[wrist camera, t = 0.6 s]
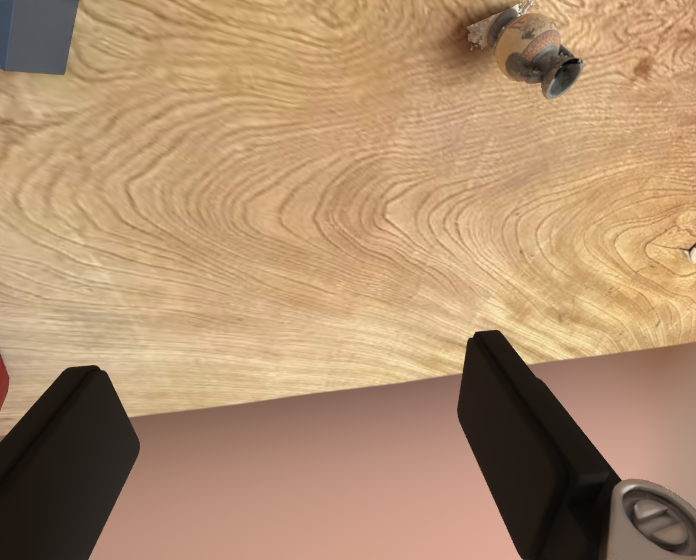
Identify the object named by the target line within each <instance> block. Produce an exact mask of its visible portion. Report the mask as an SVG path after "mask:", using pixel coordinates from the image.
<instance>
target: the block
mask: <svg viewBox="0 0 696 560" xmlns="http://www.w3.org/2000/svg"><path fill="white" fill-rule="evenodd" d="M78 1H79V0H0V69H2V70H4V71H15V72H31V73H46V74H61V75H64V74H65V69H66V64H67V59H68V53H69V48H70V43H71V38H72V32H73V27H74V22H75V17H76V12H77V6H78Z"/></svg>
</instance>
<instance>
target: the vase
mask: <svg viewBox="0 0 696 560" xmlns="http://www.w3.org/2000/svg"><path fill="white" fill-rule="evenodd" d="M526 1H527V3H526V2H525V1H524V3H526V5H525V6H524V7H523V8H519V7H518V5H519V6H521V4H522V3H523V2H521V3H519V4H517V5H515V6H512V7H511V8H509V9H507V10H504V11H502V12H500V13H498V14H495V15H493V16H491V17H489V18H486V19H484V20H482V21H479V22H477V23H475V24H473V25H470V26H468V27H466V28H467V29H468V30H469V31H470V34H468V36H469V37H468V40H469V41H468V42H470V41H472V42H474V43H477V44H479V45H480V46H481V49H482V48H483V47H485V46H487V45H489V46H491V47H494V48H495V58H496V62H497V64H498V67H499V68H500V70H501V71H502V72H503V74H504V75H505V76H507V77H508V78H509V79H511V80H513V81H519V82H523V81H525V82H526V83H528V84H535V83H541V88H542V93H543V95H544V96H545V98H546V99H548V100H551V99H555V98H557V97H559V96H561V95H562V94H564V93H565V92H566V91H567V90H568V89H569V88H570V87H571V86H572V85H573V84H574V83H575V82H576V80H577V79H578V78H579V76H580V75H581V73H582V71H583V65H584V63H583V60H581V59H579V58H575V57H574V56H573V54H572V53H571V52H570V51H568V50H567V49H566V48H564V47H563V46H562V45H561V43H560V32H559V29H558V27H557V25H556V24H555V23H554V22H553V21H552V20H551V19H550V18H548V17H546V16H544V15H542V14H537V13H531V14H530V13H529V14H525V13H526V12H527V8H528V7H529V6H530V5H536V4H533V2H532V1H533V0H526ZM538 2H539V1H538ZM537 9H539V8H537ZM530 11H531V10H530ZM518 13H520V14H518ZM524 14H525V15H524ZM466 41H467V40H466ZM474 43H473V44H474ZM486 44H487V45H486ZM475 46H476V47H477V48H478V45H476V44H475ZM475 46H474V48H475ZM472 47H473V45H471V48H470V50H471V51H472V50H473V49H472ZM470 66H471V65H470ZM522 93H523V92H522ZM523 94H524V93H523ZM512 95H513V94H512ZM520 97H521V96H520ZM526 97H527V96H526ZM528 99H530V98H528ZM488 106H489V105H488ZM523 107H524V106H523Z"/></svg>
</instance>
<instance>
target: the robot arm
mask: <svg viewBox="0 0 696 560" xmlns="http://www.w3.org/2000/svg"><path fill="white" fill-rule="evenodd" d="M457 411H458V412H457V413H458V418H459V422H460V424H461V426H462V429H463V431H464V433H465V435H466V438H467V440H468V442H469V444H470V446H471V449H472V451H473V453H474V455H475V458H476V460H477V462H478V465H479V467H480V469H481V471H482V473H483V476H484V478H485V480H486V482H487V485H488V487H489V489H490V491H491V494H492V496H493V498H494V500H495V503H496V505H497V507H498V509H499V512H500V514H501V516H502V518H503V521H504V523H505V525H506V527H507V529H508V532H509V534H510V536H511V539H512V541H513V543H514V545H515V547H516V550H517V552H518V554H519V555H520V557H521V558H522V559H523V560H696V509H695V508H694V507H693V506H692V505H691V504H689V503H688V502H687V501H685V500H684V499H682V498H681V497H680V496H679V495H677V494H676V493H674V492H672V491H670V490H668V489H667V488H665V487H663V486H661V485H658V484H655V483H652V482H649V481H646V480H640V479H628V480H624V481H622V480H621V479H620V478H619V476H618V475H617V474H616V473H615V471H614V470H613V469H612V468H611V466H610V465H609V464H608V462H607V461H606V460H605V459H604V457H603V456H602V455H601V454H600V453H599V451H598V450H597V449H596V447H595V446H594V445H593V444H592V442H591V441H590V440H589V439H588V437H587V436H586V435H585V434H584V432H583V431H582V430H581V429H580V427H579V426H578V425H577V424H576V422H575V421H574V420H573V418H572V417H571V416H570V415H569V413H568V412H567V411H566V410H565V408H564V407H563V406H562V405H561V403H560V402H559V401H558V400H557V399H556V397H555V396H554V395H553V393H552V392H551V391H550V390H549V388H548V387H547V386H546V384H545V383H544V382H543V381H542V380H540V379H538V378H536V376H535V375H534V374H533V373H532V371H531V370H530V369H529V368H528V366H527V365H526V364H525V362H524V361H523V360H522V359H521V357H520V356H519V355H518V353H517V352H516V351H515V350H514V348H513V347H512V346H511V345H510V343H509V342H508V341H507V339H506V338H505V337H504V336H503V334H502V333H501V332H500V331H498V330H490V331H479V332H475V334H474V336H473V338H469V339H468V342H467V348H466V354H465V361H464V368H463V374H462V381H461V387H460V395H459V401H458V408H457ZM139 450H140V442H139V439H138V437H137V435H136V433H135V431H134V429H133V427H132V425H131V422H130V420H129V418H128V416H127V414H126V412H125V410H124V408H123V406H122V403H121V401H120V399H119V397H118V395H117V393H116V391H115V389H114V387H113V385H112V382H111V380H110V378H109V376H108V374H107V373H106V372H105V371H103V370H100V368H99V367H98V366H95V365H90V366H78V367H70V368H67V369H66V370H64V371H63V372H62V373H61V374H60V376H59V377H58V378H57V379H56V380H55V381H54V382H53V383H52V385H51V386H50V387H49V388H48V389H47V390H46V391H45V392H44V394H43V395H42V396H41V397H40V398H39V399H38V400H37V401H36V403H35V404H34V405H33V406H32V407H31V408H30V409H29V411H28V412H27V413H26V414H25V415H24V416H23V417H22V418H21V420H20V421H19V422H18V423H17V424H16V425H15V426H14V427H13V429H12V430H11V431H10V432H9V433H8V434H7V435H6V436H5V438H4V439H3V440H2V441H1V442H0V560H88V559H89V557H90V555H91V553H92V551H93V548H94V546H95V544H96V542H97V540H98V538H99V536H100V534H101V532H102V530H103V527H104V526H105V523H106V521H107V519H108V517H109V515H110V513H111V511H112V509H113V507H114V505H115V502H116V500H117V498H118V496H119V494H120V492H121V490H122V487H123V486H124V484H125V482H126V479H127V477H128V475H129V473H130V471H131V469H132V467H133V465H134V463H135V461H136V459H137V456H138V454H139Z"/></svg>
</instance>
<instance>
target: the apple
mask: <svg viewBox="0 0 696 560" xmlns="http://www.w3.org/2000/svg"><path fill="white" fill-rule="evenodd" d="M8 386H9V376H8V373H7V370H6V368H5V365H4V363H3V360H2V357H1V355H0V410H1V407H2V405H3V402H4V400H5V397H6V395H7V392H8Z"/></svg>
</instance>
